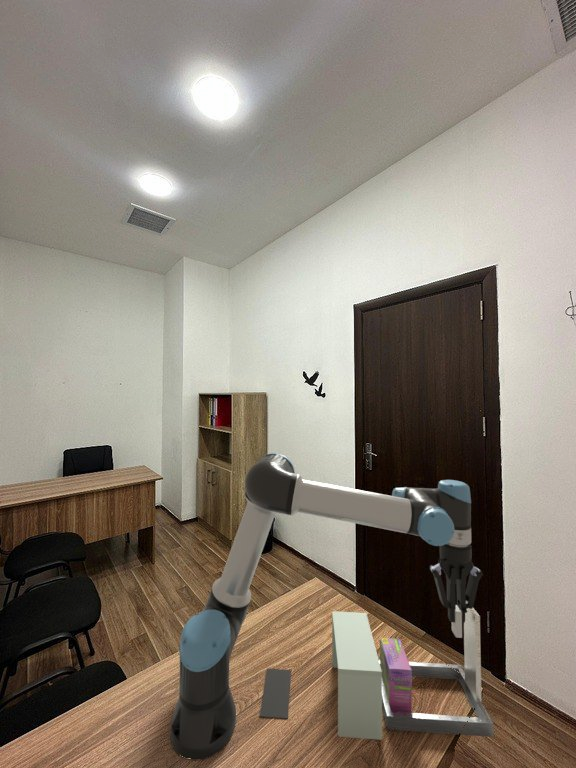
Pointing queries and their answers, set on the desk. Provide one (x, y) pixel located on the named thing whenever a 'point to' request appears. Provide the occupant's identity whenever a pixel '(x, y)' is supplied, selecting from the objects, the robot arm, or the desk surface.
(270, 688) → the mat
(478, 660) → the frame
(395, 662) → the box
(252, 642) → the desk surface
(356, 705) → the sage green tall block
